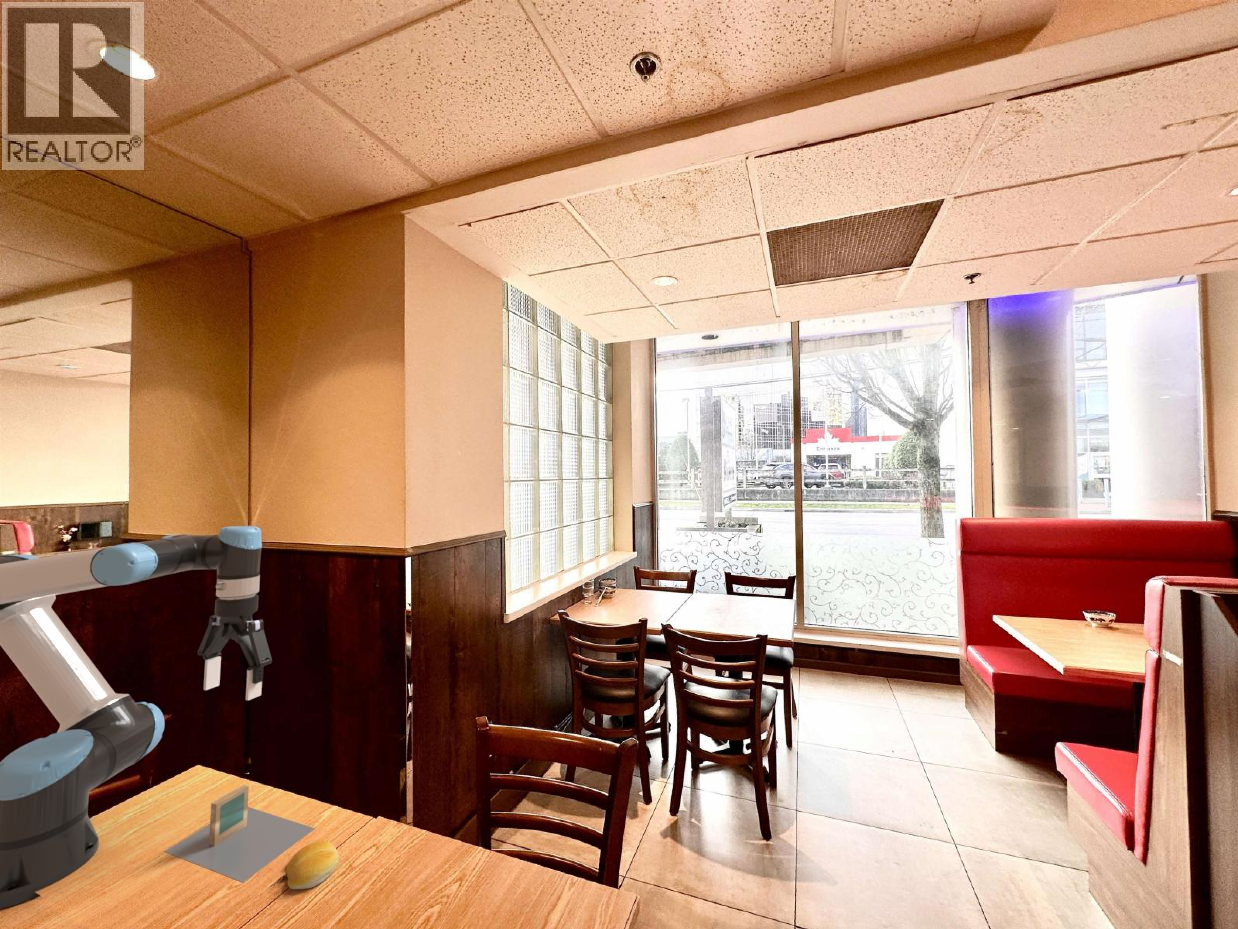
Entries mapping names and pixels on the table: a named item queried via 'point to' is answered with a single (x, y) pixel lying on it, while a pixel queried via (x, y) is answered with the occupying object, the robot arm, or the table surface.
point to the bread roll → (312, 865)
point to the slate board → (242, 845)
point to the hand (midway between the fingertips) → (232, 692)
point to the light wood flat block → (228, 815)
